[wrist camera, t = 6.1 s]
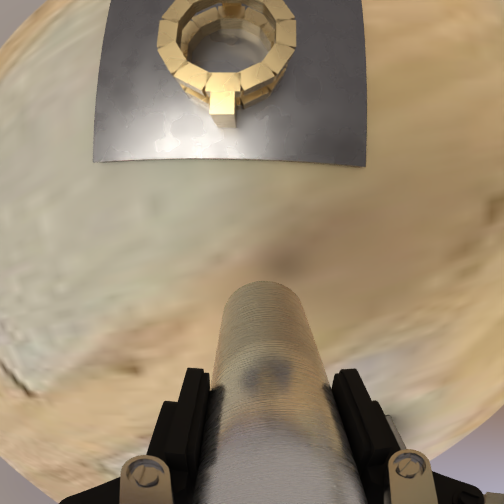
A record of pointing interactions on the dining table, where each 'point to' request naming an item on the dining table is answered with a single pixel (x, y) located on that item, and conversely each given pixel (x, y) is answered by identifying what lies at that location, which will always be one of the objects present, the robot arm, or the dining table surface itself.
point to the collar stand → (233, 81)
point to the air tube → (272, 411)
